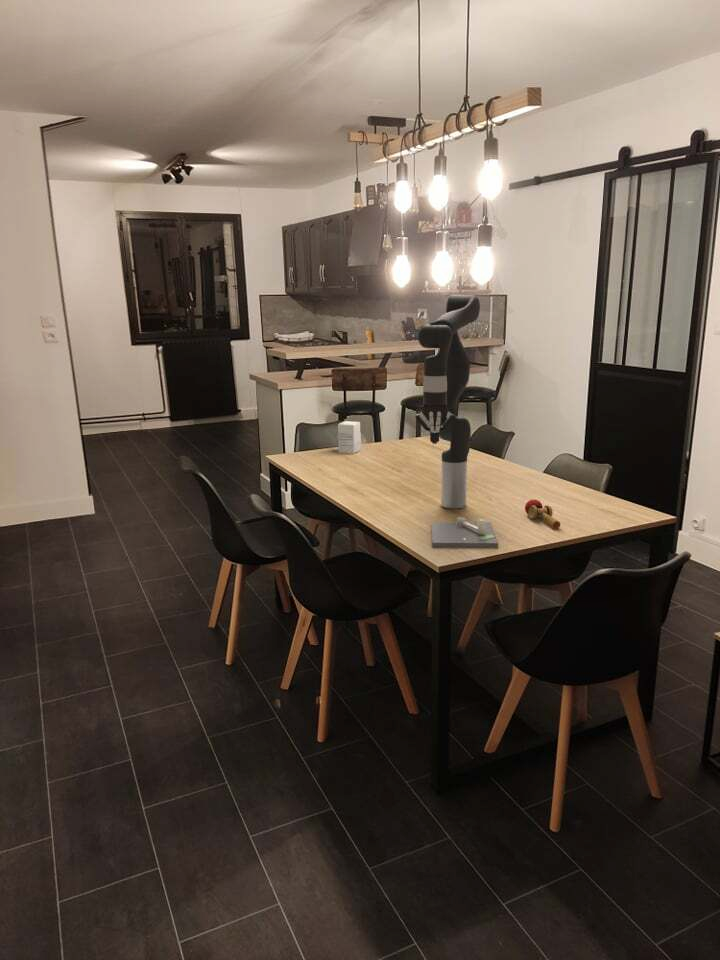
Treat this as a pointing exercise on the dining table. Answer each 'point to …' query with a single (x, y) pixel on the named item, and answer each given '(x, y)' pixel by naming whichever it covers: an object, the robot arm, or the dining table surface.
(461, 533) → the dial plate
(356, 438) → the supplement box
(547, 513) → the kendama
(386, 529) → the dining table surface
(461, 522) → the pale grey bar
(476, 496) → the dining table surface
